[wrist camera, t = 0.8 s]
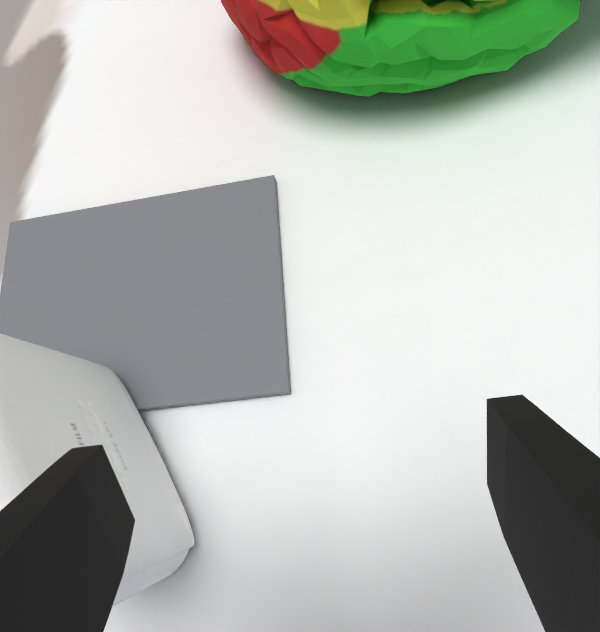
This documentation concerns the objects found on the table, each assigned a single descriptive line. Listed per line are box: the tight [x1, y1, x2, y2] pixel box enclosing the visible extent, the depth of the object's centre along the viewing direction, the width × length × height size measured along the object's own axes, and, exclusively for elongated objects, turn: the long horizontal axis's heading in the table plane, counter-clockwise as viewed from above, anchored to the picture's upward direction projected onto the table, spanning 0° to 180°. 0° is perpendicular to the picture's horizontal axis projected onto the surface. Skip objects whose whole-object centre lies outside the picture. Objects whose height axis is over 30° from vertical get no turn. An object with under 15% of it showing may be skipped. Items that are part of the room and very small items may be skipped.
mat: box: [0, 175, 291, 412], centre depth 28 cm, size 12×16×1 cm
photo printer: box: [0, 334, 195, 606], centre depth 19 cm, size 10×4×12 cm, turn 30°
